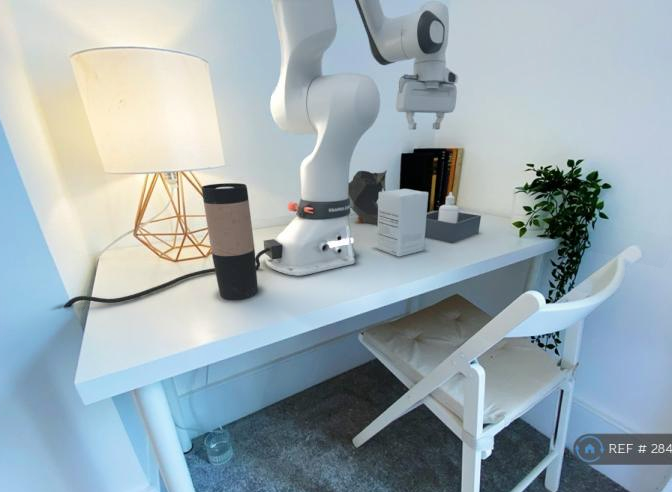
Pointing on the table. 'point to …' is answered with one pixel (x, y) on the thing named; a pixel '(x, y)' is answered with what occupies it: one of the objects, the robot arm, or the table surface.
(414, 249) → the white product box
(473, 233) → the grey open rectangular box
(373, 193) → the dark grey faceted sculpture
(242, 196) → the travel mug
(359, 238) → the table surface
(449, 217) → the eye dropper bottle
